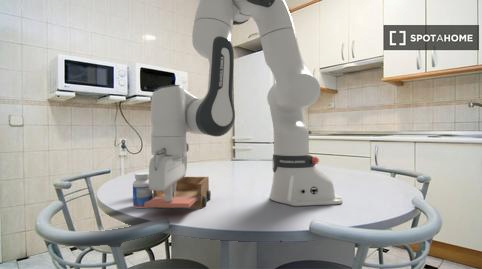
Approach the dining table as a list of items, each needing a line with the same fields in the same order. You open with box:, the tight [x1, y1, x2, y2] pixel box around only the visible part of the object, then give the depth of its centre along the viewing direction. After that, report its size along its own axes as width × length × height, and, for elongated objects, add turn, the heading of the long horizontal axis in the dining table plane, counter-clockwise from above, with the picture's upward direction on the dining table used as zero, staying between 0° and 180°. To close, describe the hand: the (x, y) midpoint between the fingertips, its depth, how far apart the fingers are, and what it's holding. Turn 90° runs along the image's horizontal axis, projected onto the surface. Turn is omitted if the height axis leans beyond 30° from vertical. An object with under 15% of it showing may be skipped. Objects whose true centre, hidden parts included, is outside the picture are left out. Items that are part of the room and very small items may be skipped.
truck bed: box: [152, 176, 212, 209], centre depth 85 cm, size 16×12×7 cm
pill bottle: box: [132, 171, 153, 209], centre depth 82 cm, size 6×5×10 cm
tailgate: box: [144, 196, 198, 208], centre depth 74 cm, size 12×1×9 cm
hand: (170, 200), depth 72 cm, fingers closed
